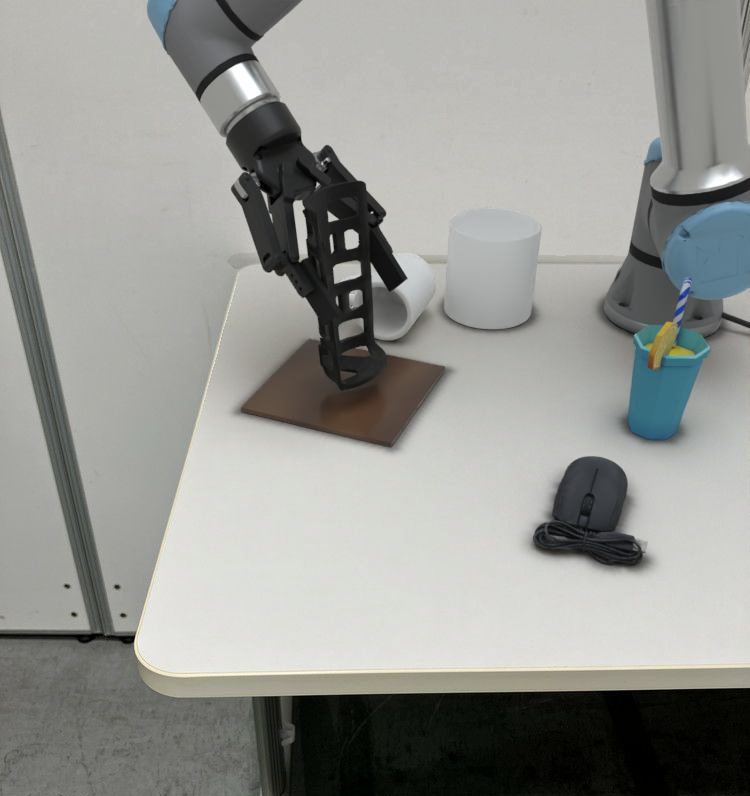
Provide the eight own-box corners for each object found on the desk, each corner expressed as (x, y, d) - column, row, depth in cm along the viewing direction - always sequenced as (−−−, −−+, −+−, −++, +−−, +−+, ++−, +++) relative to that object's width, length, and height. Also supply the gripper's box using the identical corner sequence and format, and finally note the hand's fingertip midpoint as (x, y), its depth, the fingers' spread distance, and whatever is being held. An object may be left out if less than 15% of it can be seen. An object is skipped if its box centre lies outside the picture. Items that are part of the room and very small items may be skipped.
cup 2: (627, 386, 108) (653, 266, 99) (695, 400, 106) (727, 278, 97) (606, 447, 98) (632, 319, 89) (680, 464, 96) (715, 334, 87)
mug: (434, 313, 123) (438, 256, 118) (411, 346, 116) (413, 286, 111) (351, 299, 126) (351, 243, 122) (323, 330, 119) (322, 271, 114)
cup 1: (548, 318, 123) (560, 231, 115) (475, 337, 118) (483, 247, 111) (497, 285, 131) (506, 202, 123) (427, 302, 126) (432, 216, 119)
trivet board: (444, 370, 111) (445, 366, 111) (391, 447, 98) (391, 442, 97) (309, 342, 116) (309, 338, 116) (240, 411, 103) (240, 407, 102)
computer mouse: (648, 479, 94) (655, 448, 91) (642, 571, 82) (651, 538, 80) (548, 463, 96) (553, 432, 93) (530, 551, 84) (535, 518, 82)
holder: (375, 394, 100) (359, 212, 88) (308, 392, 101) (283, 212, 90) (394, 348, 108) (381, 176, 97) (332, 347, 110) (312, 178, 98)
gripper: (308, 120, 106) (410, 284, 108) (154, 166, 92) (275, 355, 94) (343, 78, 101) (450, 252, 102) (184, 121, 86) (312, 323, 88)
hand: (366, 301), depth 98 cm, fingers closed on holder, 10 cm apart
